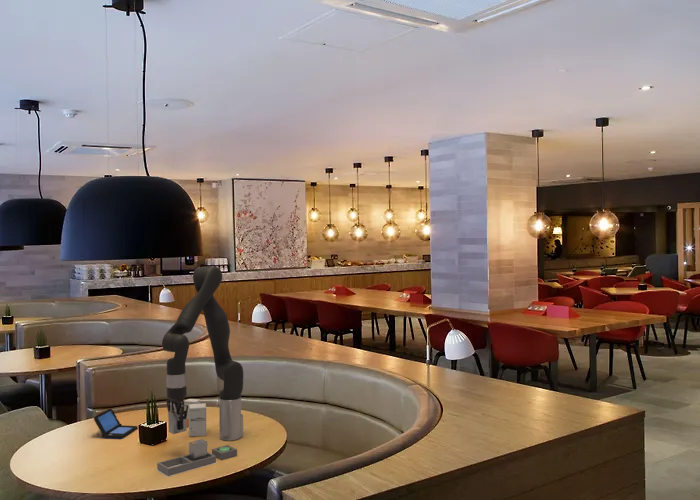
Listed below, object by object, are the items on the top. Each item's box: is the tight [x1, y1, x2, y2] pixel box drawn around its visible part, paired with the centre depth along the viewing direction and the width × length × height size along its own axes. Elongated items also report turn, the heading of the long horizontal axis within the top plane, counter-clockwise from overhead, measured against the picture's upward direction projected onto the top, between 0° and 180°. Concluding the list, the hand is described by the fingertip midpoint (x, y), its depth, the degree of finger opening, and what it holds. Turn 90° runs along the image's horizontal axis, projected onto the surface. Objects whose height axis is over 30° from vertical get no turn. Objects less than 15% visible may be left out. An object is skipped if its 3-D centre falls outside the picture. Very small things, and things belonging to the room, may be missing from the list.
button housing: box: [211, 444, 238, 461], centre depth 238 cm, size 7×7×4 cm
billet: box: [167, 411, 187, 435], centre depth 239 cm, size 6×4×8 cm
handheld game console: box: [93, 408, 139, 440], centre depth 269 cm, size 16×13×9 cm
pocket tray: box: [155, 451, 219, 478], centre depth 227 cm, size 20×10×4 cm, turn 133°
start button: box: [219, 446, 230, 452], centre depth 238 cm, size 4×4×2 cm
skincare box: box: [184, 398, 201, 428], centre depth 279 cm, size 6×4×12 cm
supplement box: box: [188, 402, 207, 438], centre depth 267 cm, size 7×7×13 cm
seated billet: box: [188, 438, 208, 462], centre depth 230 cm, size 6×4×8 cm
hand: (177, 428), depth 239 cm, fingers closed on billet, 4 cm apart
